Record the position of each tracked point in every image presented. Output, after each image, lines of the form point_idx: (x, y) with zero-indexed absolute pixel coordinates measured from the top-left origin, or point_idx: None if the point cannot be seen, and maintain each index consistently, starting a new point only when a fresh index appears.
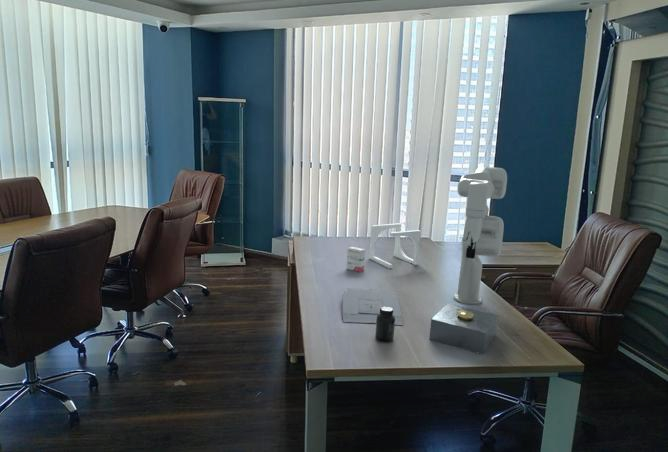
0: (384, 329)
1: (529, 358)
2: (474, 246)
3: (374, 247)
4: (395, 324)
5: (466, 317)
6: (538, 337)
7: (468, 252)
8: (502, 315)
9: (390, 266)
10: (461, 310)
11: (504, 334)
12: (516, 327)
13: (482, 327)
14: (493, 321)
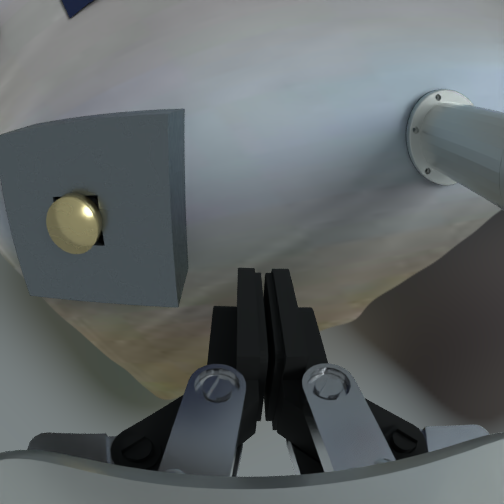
0: None
1: (117, 343)
2: (238, 459)
3: None
4: (64, 2)
5: (52, 235)
6: None
7: (212, 339)
8: (361, 258)
9: None
10: (83, 205)
11: (209, 287)
12: None
13: (50, 283)
14: (114, 303)
